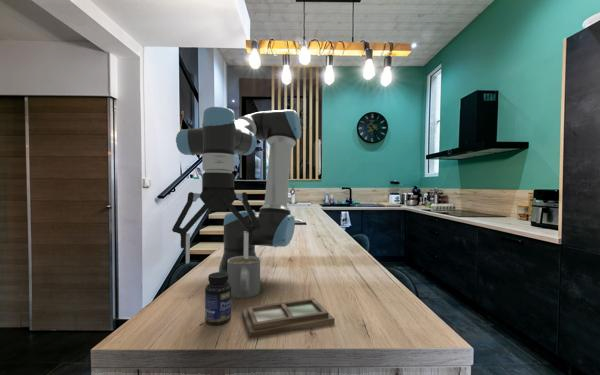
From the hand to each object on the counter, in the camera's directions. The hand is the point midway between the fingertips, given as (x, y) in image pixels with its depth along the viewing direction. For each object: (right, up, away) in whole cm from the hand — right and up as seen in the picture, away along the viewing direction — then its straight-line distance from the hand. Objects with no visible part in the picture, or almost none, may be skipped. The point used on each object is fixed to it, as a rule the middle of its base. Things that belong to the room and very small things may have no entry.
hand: (217, 259), depth 69 cm
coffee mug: (+3, -15, +17) cm, 23 cm away
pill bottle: (0, -15, 0) cm, 15 cm away
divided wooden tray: (+17, -15, +1) cm, 22 cm away
